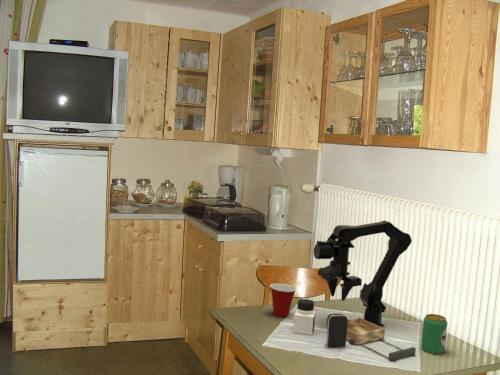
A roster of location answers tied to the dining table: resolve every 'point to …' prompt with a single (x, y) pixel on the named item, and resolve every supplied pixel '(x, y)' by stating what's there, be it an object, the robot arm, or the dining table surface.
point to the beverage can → (434, 334)
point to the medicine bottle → (304, 317)
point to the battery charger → (336, 330)
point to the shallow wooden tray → (363, 331)
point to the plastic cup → (282, 298)
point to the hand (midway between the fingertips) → (337, 298)
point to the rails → (397, 354)
